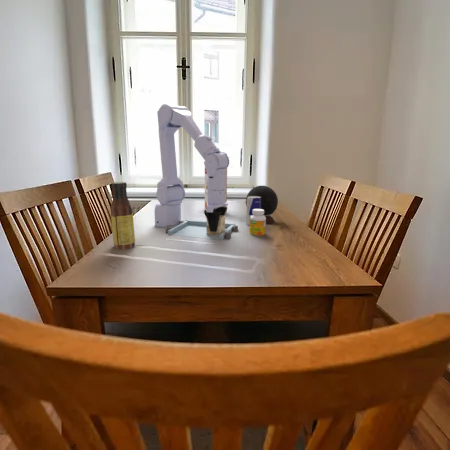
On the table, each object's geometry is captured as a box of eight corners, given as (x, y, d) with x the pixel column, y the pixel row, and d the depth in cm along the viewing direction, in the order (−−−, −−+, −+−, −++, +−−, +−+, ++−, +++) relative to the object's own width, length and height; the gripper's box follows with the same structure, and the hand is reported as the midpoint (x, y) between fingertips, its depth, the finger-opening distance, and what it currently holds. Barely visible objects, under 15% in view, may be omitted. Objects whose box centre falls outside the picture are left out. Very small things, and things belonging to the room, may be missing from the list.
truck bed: (162, 239, 113) (161, 230, 112) (183, 227, 130) (182, 218, 129) (225, 245, 108) (226, 236, 107) (239, 232, 124) (239, 223, 124)
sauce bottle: (139, 246, 105) (136, 181, 100) (127, 252, 99) (123, 184, 95) (121, 244, 107) (117, 180, 102) (108, 249, 101) (104, 182, 97)
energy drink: (259, 229, 128) (260, 198, 126) (245, 228, 129) (246, 197, 127) (260, 226, 133) (262, 196, 131) (247, 225, 134) (248, 195, 132)
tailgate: (171, 240, 113) (164, 244, 108) (171, 236, 113) (164, 239, 108) (217, 245, 109) (212, 249, 104) (217, 240, 109) (212, 244, 104)
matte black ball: (261, 226, 133) (263, 188, 130) (238, 220, 143) (239, 184, 139) (283, 222, 142) (285, 186, 138) (260, 216, 151) (261, 183, 148)
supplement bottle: (247, 238, 117) (248, 210, 114) (251, 234, 122) (252, 207, 119) (262, 240, 115) (264, 211, 113) (266, 236, 120) (267, 209, 118)
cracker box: (203, 208, 169) (204, 165, 164) (215, 207, 171) (215, 165, 166) (215, 213, 156) (215, 167, 152) (226, 212, 159) (227, 167, 154)
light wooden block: (206, 234, 115) (206, 217, 114) (211, 231, 120) (211, 214, 118) (220, 235, 114) (221, 218, 112) (224, 232, 118) (225, 215, 117)
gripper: (221, 193, 105) (221, 235, 109) (233, 187, 119) (232, 225, 122) (200, 191, 107) (200, 233, 110) (214, 186, 121) (213, 224, 124)
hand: (215, 229), depth 116 cm, fingers closed on light wooden block, 5 cm apart
